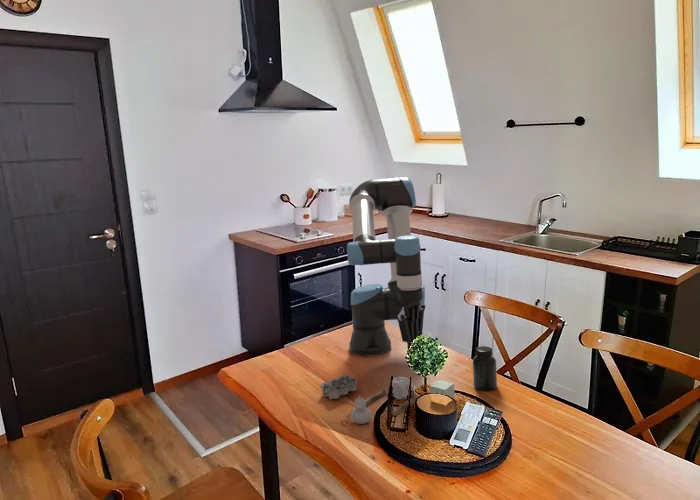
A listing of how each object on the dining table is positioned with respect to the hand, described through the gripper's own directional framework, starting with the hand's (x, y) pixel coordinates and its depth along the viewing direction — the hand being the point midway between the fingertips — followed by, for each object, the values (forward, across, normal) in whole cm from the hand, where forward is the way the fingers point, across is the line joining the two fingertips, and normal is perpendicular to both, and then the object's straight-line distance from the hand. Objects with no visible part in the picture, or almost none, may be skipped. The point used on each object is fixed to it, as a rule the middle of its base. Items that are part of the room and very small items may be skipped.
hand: (413, 360), depth 154 cm
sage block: (+8, +5, +13) cm, 16 cm away
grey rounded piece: (+8, +27, 0) cm, 28 cm away
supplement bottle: (+8, -10, +19) cm, 23 cm away
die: (+8, +8, +1) cm, 12 cm away
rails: (+8, +15, +1) cm, 17 cm away
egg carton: (+9, +17, -14) cm, 23 cm away
